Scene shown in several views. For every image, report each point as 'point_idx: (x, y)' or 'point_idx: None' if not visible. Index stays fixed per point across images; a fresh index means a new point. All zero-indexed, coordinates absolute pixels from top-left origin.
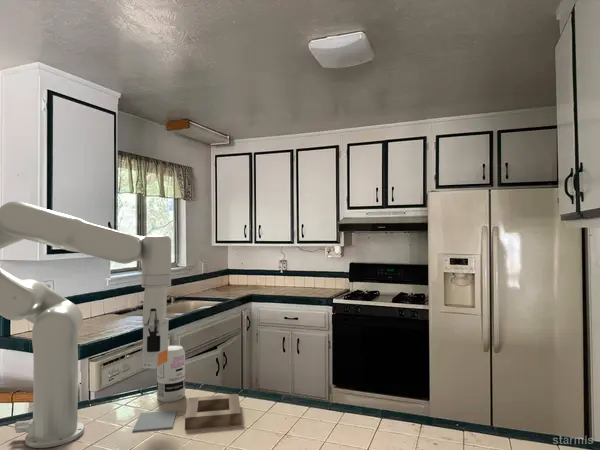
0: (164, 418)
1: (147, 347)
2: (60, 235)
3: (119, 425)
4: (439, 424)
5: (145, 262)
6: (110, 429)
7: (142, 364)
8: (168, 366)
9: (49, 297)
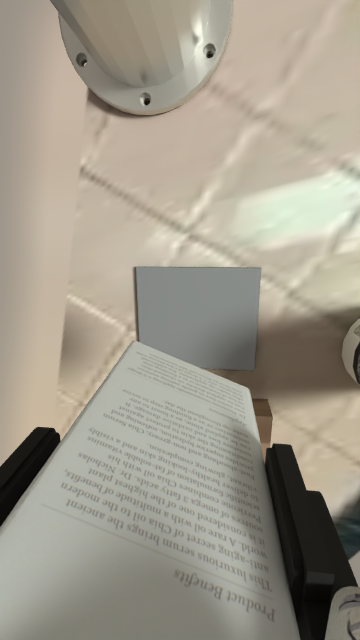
0: (199, 342)
1: (21, 448)
2: None
3: (191, 218)
4: None
5: None
6: (167, 197)
7: (128, 347)
8: None
9: None
